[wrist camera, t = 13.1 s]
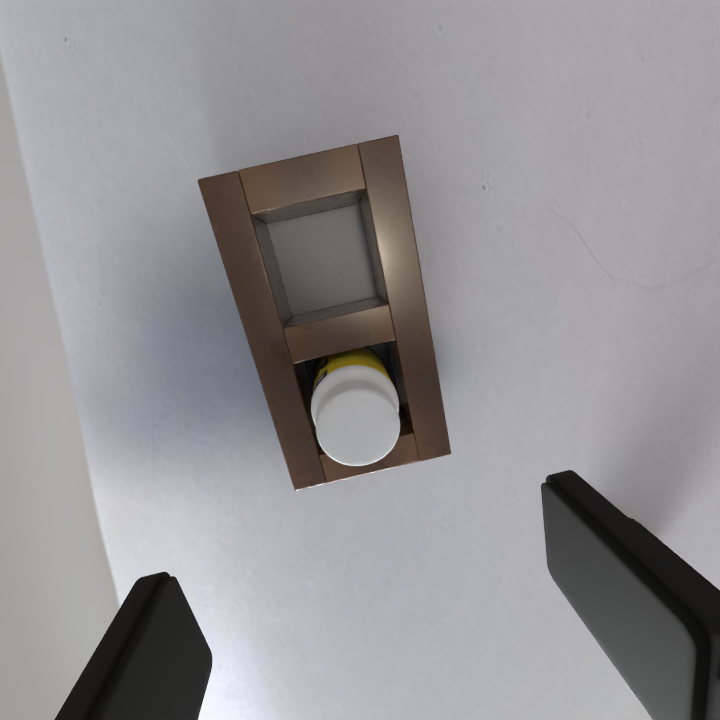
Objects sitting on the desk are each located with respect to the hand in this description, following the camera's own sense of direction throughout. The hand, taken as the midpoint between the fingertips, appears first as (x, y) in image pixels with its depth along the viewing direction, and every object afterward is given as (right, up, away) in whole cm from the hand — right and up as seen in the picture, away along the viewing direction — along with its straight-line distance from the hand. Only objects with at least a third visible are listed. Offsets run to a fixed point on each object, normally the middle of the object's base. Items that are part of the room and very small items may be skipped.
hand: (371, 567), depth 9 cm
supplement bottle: (-1, +4, +16) cm, 17 cm away
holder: (-2, +8, +15) cm, 17 cm away
